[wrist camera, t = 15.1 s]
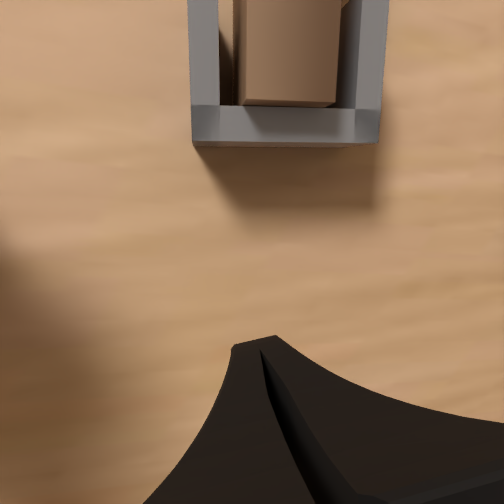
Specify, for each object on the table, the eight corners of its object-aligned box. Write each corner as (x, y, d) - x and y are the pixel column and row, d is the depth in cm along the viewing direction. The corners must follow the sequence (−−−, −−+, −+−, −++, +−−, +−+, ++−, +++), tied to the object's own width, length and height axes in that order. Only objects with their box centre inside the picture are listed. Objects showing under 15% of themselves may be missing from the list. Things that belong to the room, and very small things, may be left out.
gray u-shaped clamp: (193, 146, 16) (191, 140, 13) (189, 16, 15) (186, -28, 12) (342, 147, 17) (378, 142, 14) (349, 25, 16) (390, -13, 13)
